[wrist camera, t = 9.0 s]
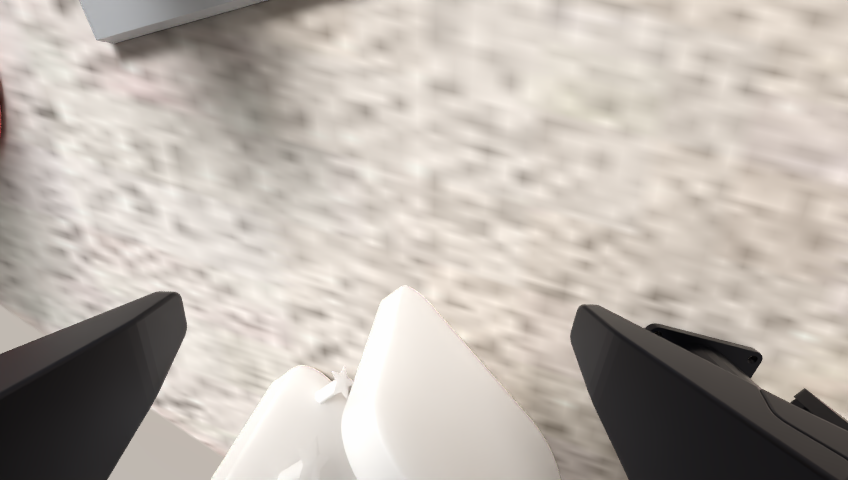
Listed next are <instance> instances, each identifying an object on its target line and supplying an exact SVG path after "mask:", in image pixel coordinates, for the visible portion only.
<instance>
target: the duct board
mask: <svg viewBox="0 0 848 480" xmlns="http://www.w3.org/2000/svg"><path fill="white" fill-rule="evenodd" d="M79 1H80V4H81V6H82V8H83V10H84V13H85V15H86V17H87V20H88V22H89V24H90V27H91V29H92V31H93V33H94V36H95V38H96V40H98V41H104V42H109V43H118V42H121V41H125V40H128V39H132V38H136V37H139V36H143V35H146V34H150V33H153V32H157V31H160V30H164V29H167V28H171V27H175V26H178V25H182V24H185V23H189V22H192V21H196V20H199V19H203V18H206V17H210V16H214V15H217V14H221V13H224V12H228V11H231V10H235V9H238V8H242V7H245V6H249V5H253V4H256V3H260V2H263V1H267V0H79Z"/></svg>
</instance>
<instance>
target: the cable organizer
mask: <svg viewBox="0 0 848 480" xmlns="http://www.w3.org/2000/svg"><path fill="white" fill-rule="evenodd" d="M331 372H332V374H333V376H334V379H335V380H334V381H331V380H330V379H329V378H328V377H326V376H325V375H324V374H323V373H321V372H320V371H318V370H316V369H314V368H312V367H309V366H306V365H298V366H295V367H293V368H292V369H290V370H289V371H288V372H286V373H285V374H283V375H282V376H281V377H279V378H278V379H276V380H275V381H274V382H273V383H272V384H271V385H270V387H269V388H268V390H267V391H266V393H265V395H264V396H263V398H262V399H261V401H260V402H259V404H258V406H257V407H256V409H255V410H254V412H253V414H252V415H251V417H250V418H249V420H248V421H247V423H246V425H245V426H244V428H243V429H242V431H241V432H240V434H239V436H238V437H237V439H236V440H235V442H234V443H233V445H232V447H231V448H230V450H229V451H228V453H227V455H226V456H225V458H224V459H223V461H222V462H221V464H220V466H219V467H218V469H217V471H216V472H215V473H214V475H213V477H212V478H211V480H561V477H560V473H559V470H558V467H557V464H556V461H555V458H554V456H553V453H552V451H551V449H550V447H549V445H548V443H547V442H546V440H545V438H544V436H543V435H542V433H541V432H540V430H539V429H538V427H537V426H536V425H535V423H534V422H533V421H532V419H531V418H530V417H529V416H528V415H527V414H526V412H525V411H524V410H523V409H522V408H521V407H520V406H519V404H518V403H517V402H516V401H515V400H514V399H513V398H512V396H511V395H510V394H509V393H508V392H507V391H506V389H505V388H504V387H503V386H502V385H501V384H500V383H499V381H498V380H497V379H496V378H495V377H494V376H493V375H492V373H491V372H490V371H489V370H488V369H487V368H486V366H485V365H484V364H483V363H482V362H481V361H480V360H479V358H478V357H477V356H476V355H475V354H474V353H473V352H472V350H471V349H470V348H469V347H468V346H467V345H466V344H465V342H464V341H463V340H462V339H461V338H460V337H459V335H458V334H457V333H456V332H455V331H454V330H453V329H452V327H451V326H450V325H449V324H448V323H447V322H446V321H445V319H444V318H443V317H442V316H441V315H440V314H439V313H438V311H437V310H436V309H435V308H434V307H433V306H432V304H431V303H430V302H429V301H428V300H427V299H426V298H425V297H424V296H423V295H421V294H420V293H419V292H418V291H416V290H415V289H413V288H411V287H409V286H406V285H404V286H401V287H400V288H398V289H397V290H396V291H394V292H393V293H391V294H390V295H389V296H387V297H386V298H384V299H383V300H382V301H381V303H380V305H379V308H378V311H377V314H376V317H375V320H374V323H373V326H372V329H371V332H370V335H369V338H368V341H367V344H366V346H365V349H364V352H363V355H362V358H361V361H360V364H359V367H358V370H357V373H356V376H355V379H354V381H353V380H351V379H350V378H349V377H347V372H346V367H345V365H344V367H343V369H342V370H341V372H340V373H338V372H334V371H331ZM352 384H353V385H352ZM351 385H352V388H351V390H350V393H349V394H348V388H349V387H350V386H351Z"/></svg>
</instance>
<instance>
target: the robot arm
mask: <svg viewBox="0 0 848 480" xmlns="http://www.w3.org/2000/svg"><path fill="white" fill-rule="evenodd" d="M186 330H187V322H186V317H185V312H184V307H183V302H182V298H181V296H180V294H178V293H177V292H162V291H159V292H155V293H152V294H150V295H147V296H145V297H142V298H140V299H137V300H135V301H132V302H130V303H127V304H125V305H122V306H120V307H117V308H115V309H112V310H110V311H107V312H104V313H102V314H99V315H97V316H94V317H92V318H89V319H87V320H84V321H82V322H79V323H77V324H74V325H72V326H69V327H67V328H64V329H62V330H59V331H57V332H54V333H52V334H49V335H47V336H44V337H42V338H40V339H37V340H35V341H32V342H29V343H27V344H24V345H22V346H19V347H17V348H14V349H12V350H9V351H7V352H4V353H2V354H0V480H107V479H108V478H109V476H110V474H111V472H112V471H113V469H114V468H115V466H116V464H117V462H118V461H119V459H120V457H121V456H122V454H123V452H124V451H125V449H126V447H127V446H128V444H129V442H130V441H131V439H132V437H133V436H134V434H135V432H136V431H137V429H138V427H139V426H140V424H141V422H142V421H143V419H144V417H145V416H146V414H147V412H148V411H149V409H150V407H151V406H152V404H153V402H154V400H155V399H156V397H157V395H158V393H159V391H160V389H161V387H162V384H163V382H164V380H165V378H166V376H167V374H168V371H169V369H170V367H171V365H172V363H173V361H174V358H175V356H176V354H177V352H178V350H179V348H180V345H181V343H182V341H183V339H184V337H185V334H186ZM656 331H658V333H657V334H654V332H656ZM570 338H571V344H572V347H573V350H574V352H575V355H576V358H577V361H578V364H579V367H580V370H581V372H582V375H583V378H584V381H585V384H586V387H587V390H588V392H589V395H590V397H591V400H592V402H593V404H594V407H595V409H596V411H597V413H598V415H599V418H600V420H601V422H602V424H603V426H604V428H605V430H606V432H607V434H608V437H609V439H610V441H611V443H612V445H613V447H614V449H615V451H616V453H617V456H618V458H619V460H620V462H621V464H622V466H623V468H624V470H625V472H626V475H627V477H628V479H629V480H848V421H847V420H846V419H845V418H843V417H842V416H841V415H839V414H838V413H837V412H835V411H834V410H833V409H831V408H830V407H829V406H827V405H826V404H825V403H824V402H822V401H821V400H820V399H818V398H817V397H816V396H814V395H813V394H812V393H810V392H809V391H808V390H806V389H805V388H804V389H803V390H802V391H800V392H799V393H798V394H796V395H795V396H794V397H795V398H796V399H795V400H793V401H792V402H791V403H789V402H787V401H785V400H783V399H781V398H779V397H777V396H775V395H773V394H771V393H769V392H767V391H765V390H763V389H761V388H760V387H759V386H758V385H757V384H756V383H754V382H753V381H752V380H751V379H750V378H751V377H752V375H753V374H754V372H755V371H756V369H757V368H758V366H759V365H760V363H761V361H762V355H761V354H760V353H759V352H758V351H757V350H755V349H753V348H751V347H747V346H743V345H739V344H735V343H731V342H727V341H723V340H719V339H715V338H711V337H708V336H704V335H700V334H696V333H692V332H688V331H684V330H680V329H676V328H672V327H668V326H665V325H661V324H650V325H649V326H647V327H646V329H644V328H642V327H640V326H638V325H636V324H634V323H632V322H630V321H628V320H626V319H624V318H622V317H621V316H619V315H617V314H615V313H613V312H611V311H609V310H607V309H605V308H603V307H601V306H599V305H585V304H584V305H581V306H579V308H578V310H577V312H576V316H575V319H574V323H573V326H572V330H571V335H570ZM751 356H752V357H751ZM749 357H751V358H749ZM748 358H749V359H748Z"/></svg>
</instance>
